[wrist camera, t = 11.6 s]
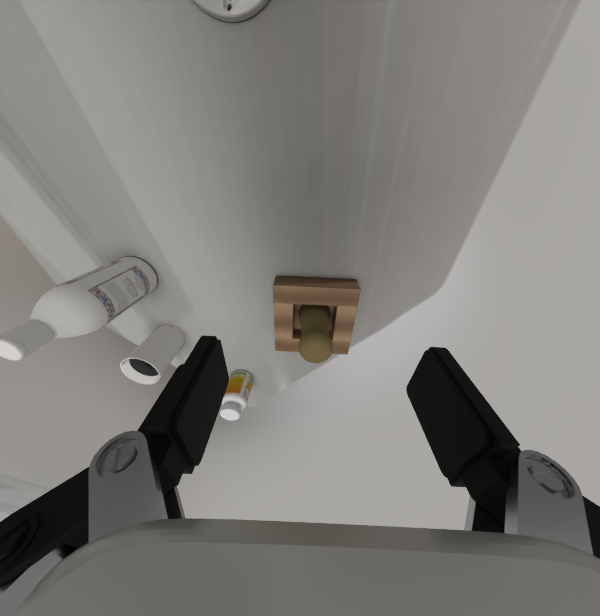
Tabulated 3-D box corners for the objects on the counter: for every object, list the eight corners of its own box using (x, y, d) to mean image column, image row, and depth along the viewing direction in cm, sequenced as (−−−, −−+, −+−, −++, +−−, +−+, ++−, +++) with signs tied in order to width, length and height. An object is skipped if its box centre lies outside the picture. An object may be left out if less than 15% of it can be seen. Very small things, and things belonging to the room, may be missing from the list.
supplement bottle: (226, 377, 52) (211, 414, 44) (239, 366, 50) (225, 403, 42) (245, 387, 54) (233, 425, 46) (257, 377, 52) (247, 415, 44)
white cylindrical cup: (158, 317, 44) (122, 352, 35) (190, 331, 45) (163, 367, 37) (153, 339, 47) (118, 375, 38) (183, 351, 48) (156, 388, 40)
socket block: (276, 275, 38) (273, 285, 34) (355, 279, 38) (360, 289, 34) (278, 337, 45) (275, 350, 42) (344, 340, 45) (347, 354, 41)
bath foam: (118, 282, 40) (-26, 361, 23) (118, 248, 36) (-50, 312, 19) (156, 297, 41) (48, 381, 24) (160, 265, 38) (37, 339, 21)
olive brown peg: (336, 318, 41) (343, 360, 31) (308, 330, 43) (307, 374, 33) (321, 294, 38) (325, 332, 29) (292, 308, 40) (287, 348, 31)
